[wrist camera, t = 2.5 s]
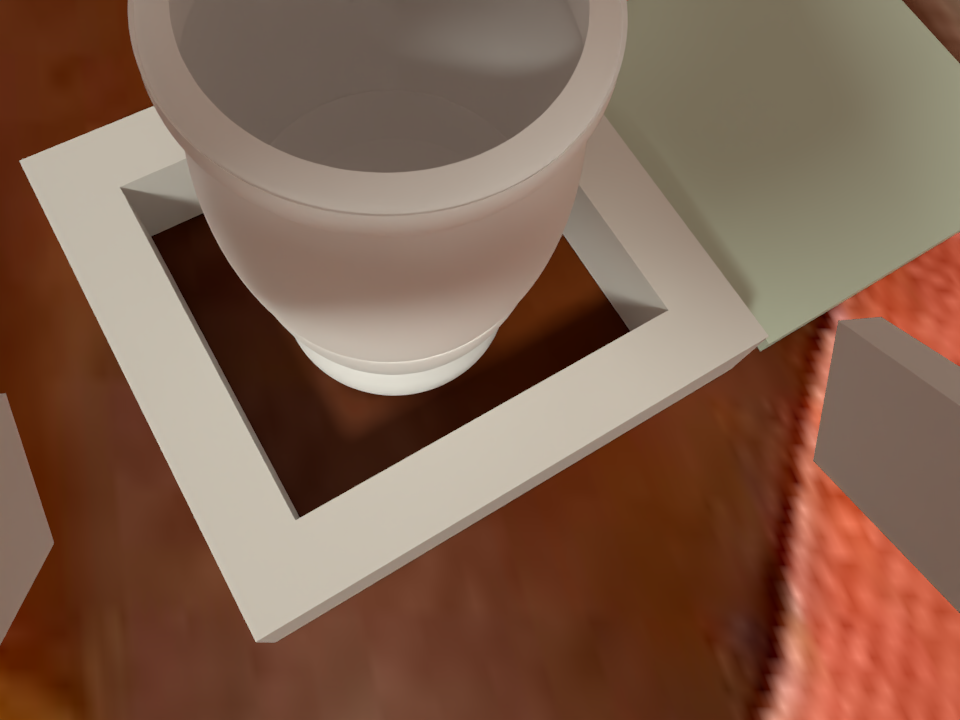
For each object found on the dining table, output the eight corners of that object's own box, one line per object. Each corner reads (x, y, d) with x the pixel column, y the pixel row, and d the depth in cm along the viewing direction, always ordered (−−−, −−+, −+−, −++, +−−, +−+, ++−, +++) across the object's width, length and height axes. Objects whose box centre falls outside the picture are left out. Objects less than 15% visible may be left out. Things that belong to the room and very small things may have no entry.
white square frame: (61, 213, 30) (19, 160, 27) (486, 30, 35) (494, -33, 32) (275, 642, 26) (255, 642, 23) (730, 369, 31) (768, 336, 27)
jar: (291, 152, 32) (199, -231, 18) (544, 194, 32) (647, -152, 18) (227, 402, 29) (48, 166, 14) (512, 447, 29) (611, 257, 15)
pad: (539, 51, 35) (542, 38, 34) (815, -72, 39) (823, -86, 38) (760, 351, 31) (769, 343, 30) (1043, 181, 35) (1057, 171, 34)
